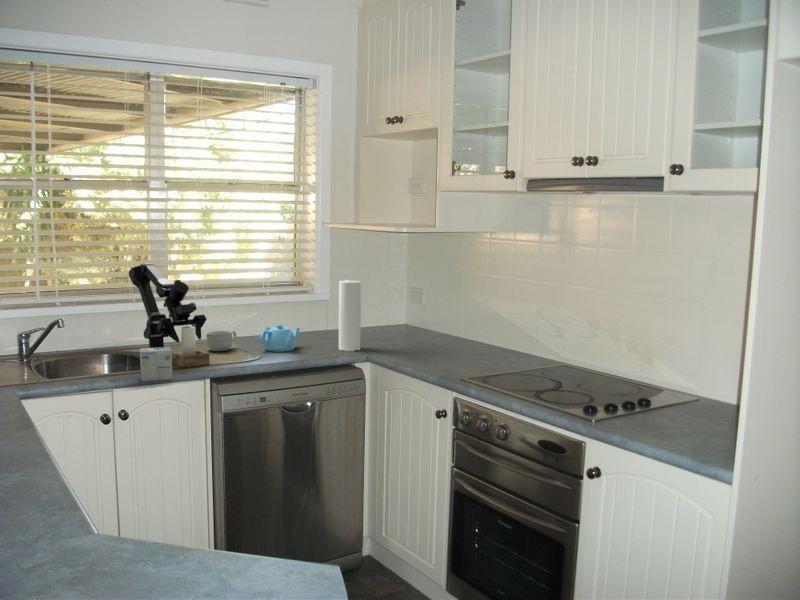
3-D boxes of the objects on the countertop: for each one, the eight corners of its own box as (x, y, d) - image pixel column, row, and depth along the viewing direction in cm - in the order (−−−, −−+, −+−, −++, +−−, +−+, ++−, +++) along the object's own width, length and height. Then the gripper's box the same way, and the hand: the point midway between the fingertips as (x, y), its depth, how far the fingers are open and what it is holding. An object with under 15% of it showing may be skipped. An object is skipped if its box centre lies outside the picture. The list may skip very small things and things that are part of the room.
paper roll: (181, 359, 299) (181, 326, 297) (195, 358, 301) (194, 325, 299) (182, 362, 294) (181, 328, 292) (196, 361, 296) (195, 327, 294)
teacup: (213, 353, 317) (213, 334, 316) (201, 349, 325) (201, 331, 324) (243, 350, 326) (243, 331, 324) (231, 346, 334) (231, 328, 333)
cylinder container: (359, 351, 327) (360, 281, 323) (337, 350, 327) (338, 281, 323) (361, 347, 336) (361, 279, 332) (339, 346, 336) (340, 279, 333)
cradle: (169, 362, 298) (168, 352, 297) (192, 359, 305) (192, 348, 305) (185, 367, 290) (185, 356, 289) (209, 363, 297) (209, 353, 297)
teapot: (266, 345, 337) (266, 321, 336) (300, 346, 336) (300, 322, 335) (258, 352, 322) (258, 327, 321) (293, 353, 321) (293, 327, 320)
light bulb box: (171, 375, 277) (170, 346, 276) (172, 379, 271) (172, 349, 270) (140, 377, 273) (139, 347, 272) (141, 381, 267) (140, 351, 266)
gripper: (159, 297, 291) (173, 330, 285) (203, 294, 304) (218, 325, 297) (150, 315, 298) (164, 348, 291) (194, 311, 311) (208, 342, 304)
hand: (189, 340), depth 296 cm, fingers open, 9 cm apart
